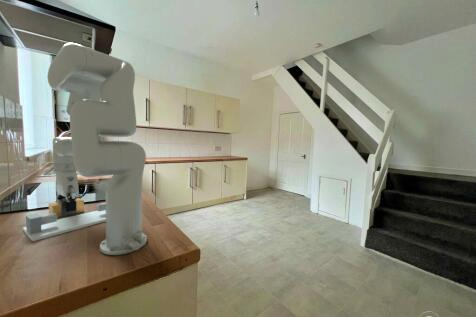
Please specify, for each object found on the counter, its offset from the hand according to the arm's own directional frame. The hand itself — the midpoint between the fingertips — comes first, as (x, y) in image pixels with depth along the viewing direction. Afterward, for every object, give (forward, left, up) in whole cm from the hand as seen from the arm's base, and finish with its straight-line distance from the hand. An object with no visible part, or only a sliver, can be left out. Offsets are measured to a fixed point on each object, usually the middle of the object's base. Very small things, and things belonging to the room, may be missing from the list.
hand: (66, 208), depth 83 cm
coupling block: (0, 0, -2) cm, 2 cm away
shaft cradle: (-14, 0, -2) cm, 14 cm away
